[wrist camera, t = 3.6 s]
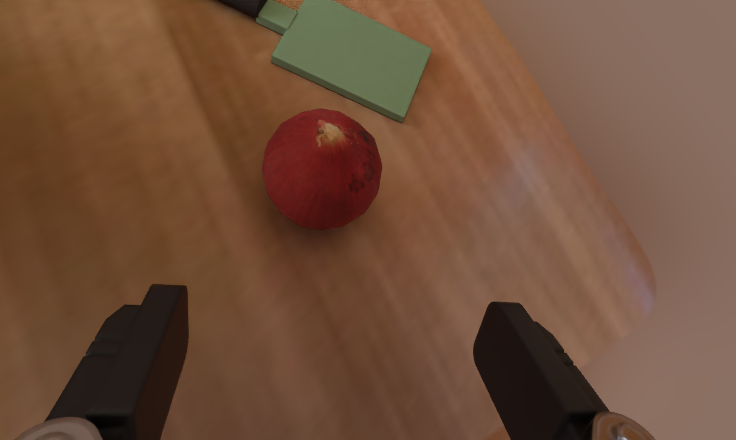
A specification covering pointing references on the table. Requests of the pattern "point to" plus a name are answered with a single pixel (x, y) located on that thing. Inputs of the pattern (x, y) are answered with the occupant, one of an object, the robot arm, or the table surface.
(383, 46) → the spatula
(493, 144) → the table surface
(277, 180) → the onion
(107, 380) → the robot arm
